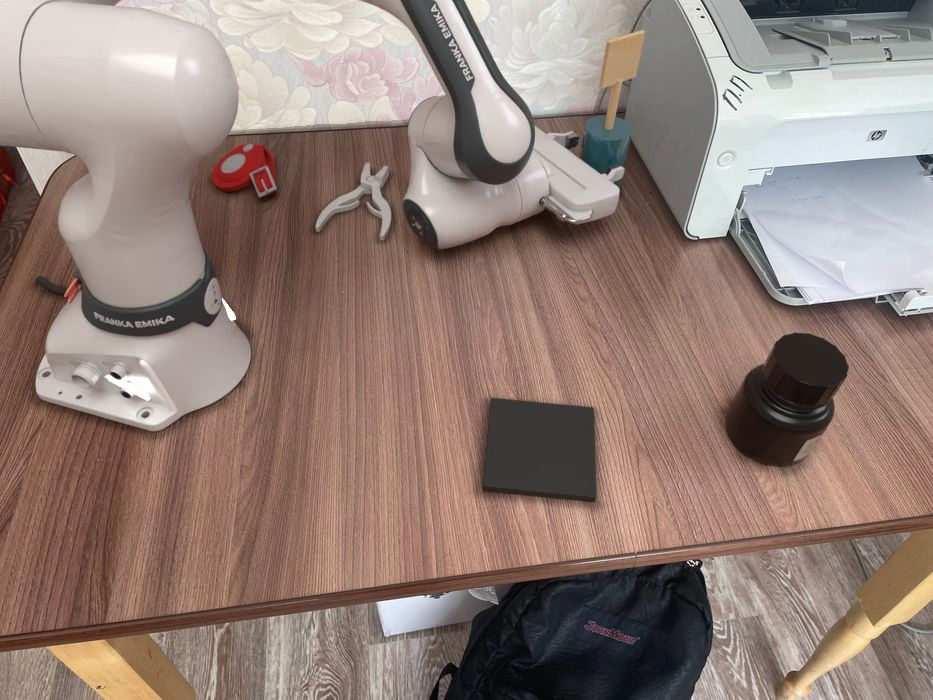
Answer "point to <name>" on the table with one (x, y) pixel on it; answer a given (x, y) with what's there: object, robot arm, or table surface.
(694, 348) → the table surface
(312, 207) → the table surface
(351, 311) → the table surface
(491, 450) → the plate
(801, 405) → the ink bottle
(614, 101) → the spatula crock
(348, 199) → the pliers
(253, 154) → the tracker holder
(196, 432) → the table surface
